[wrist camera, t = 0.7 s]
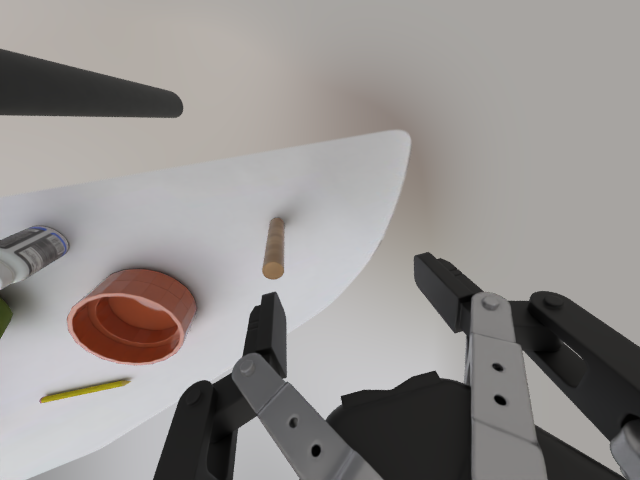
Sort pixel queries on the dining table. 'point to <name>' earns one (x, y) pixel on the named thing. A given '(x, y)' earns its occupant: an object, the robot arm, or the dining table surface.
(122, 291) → the bowl
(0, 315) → the apple
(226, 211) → the dining table surface
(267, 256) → the stirring stick
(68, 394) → the pencil
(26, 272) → the pill bottle
